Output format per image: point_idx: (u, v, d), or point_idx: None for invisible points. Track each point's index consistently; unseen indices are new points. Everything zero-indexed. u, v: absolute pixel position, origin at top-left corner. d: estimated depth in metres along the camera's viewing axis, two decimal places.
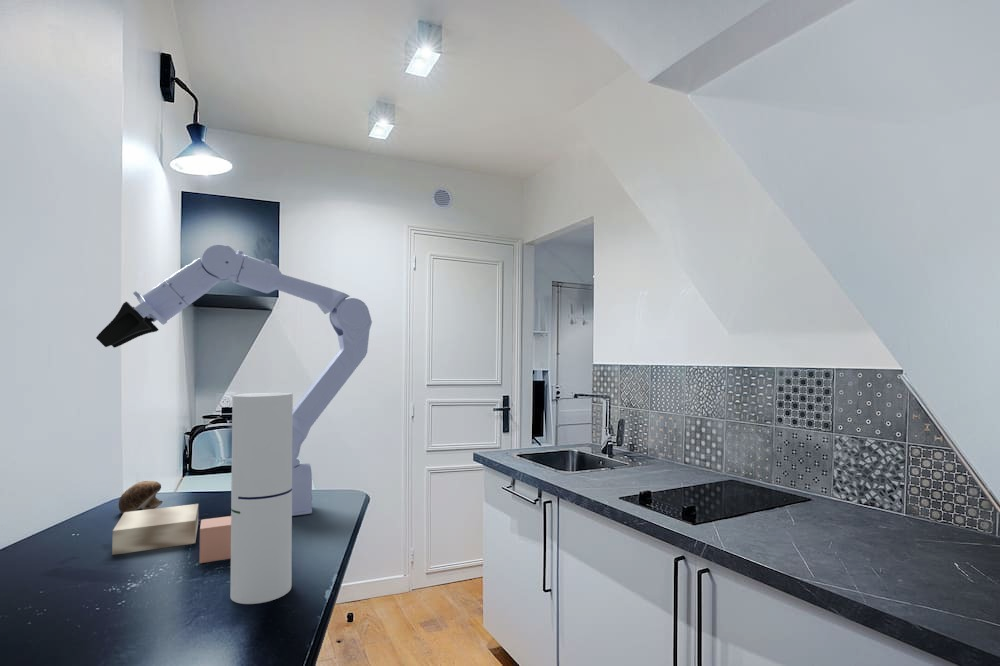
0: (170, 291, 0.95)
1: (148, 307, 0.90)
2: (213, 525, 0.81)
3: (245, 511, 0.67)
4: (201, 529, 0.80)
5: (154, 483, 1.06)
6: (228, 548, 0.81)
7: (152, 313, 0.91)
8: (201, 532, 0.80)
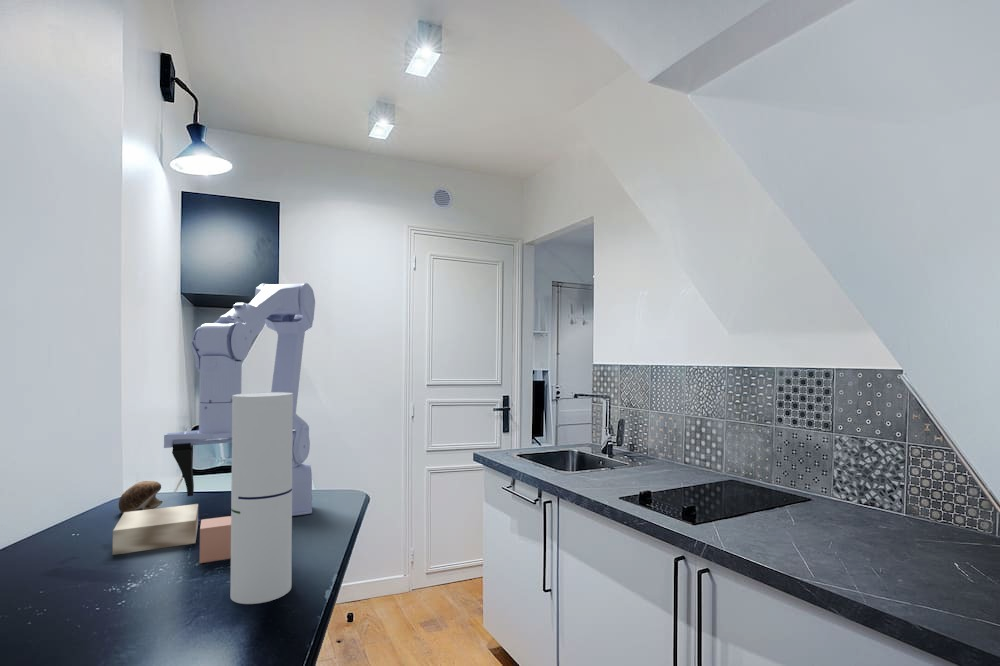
0: None
1: None
2: (213, 525, 0.81)
3: (245, 511, 0.67)
4: (201, 529, 0.80)
5: (154, 483, 1.06)
6: (228, 548, 0.81)
7: None
8: (201, 532, 0.80)
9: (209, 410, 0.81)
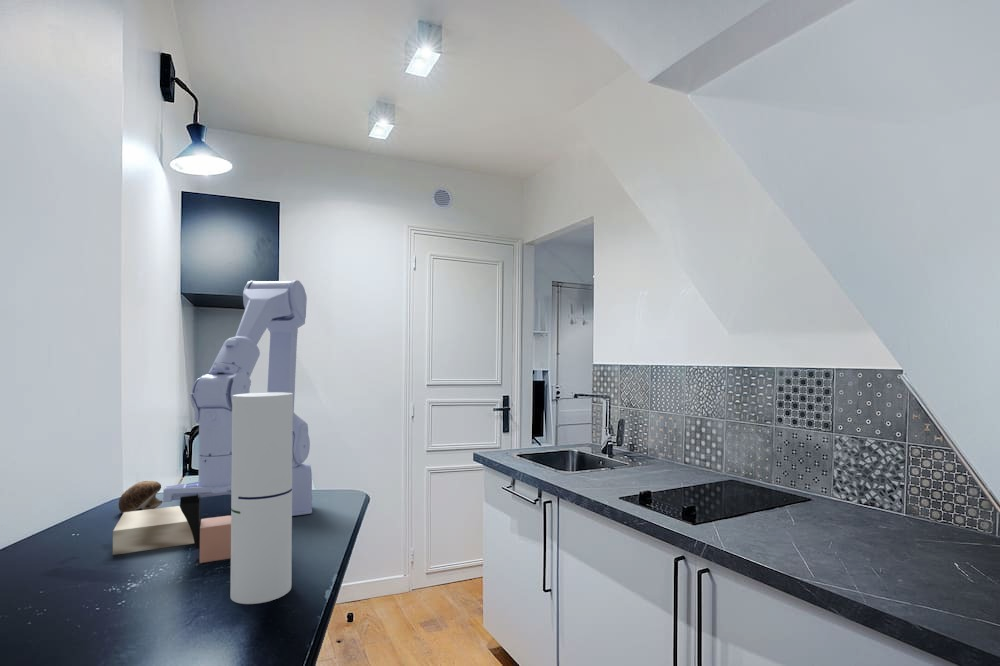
0: None
1: None
2: (213, 524, 0.81)
3: (245, 511, 0.67)
4: (201, 528, 0.80)
5: (154, 483, 1.06)
6: (228, 548, 0.81)
7: None
8: (201, 531, 0.80)
9: (209, 463, 0.81)
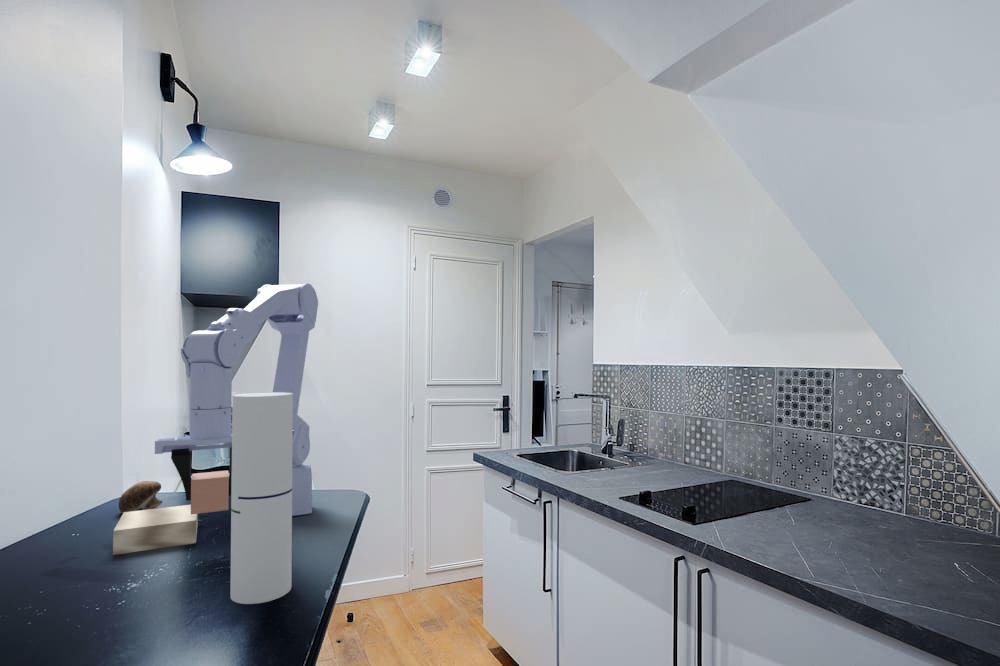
0: None
1: None
2: (204, 477, 0.83)
3: (245, 511, 0.67)
4: (192, 480, 0.81)
5: (154, 483, 1.06)
6: (219, 500, 0.83)
7: None
8: (192, 483, 0.81)
9: (199, 416, 0.82)
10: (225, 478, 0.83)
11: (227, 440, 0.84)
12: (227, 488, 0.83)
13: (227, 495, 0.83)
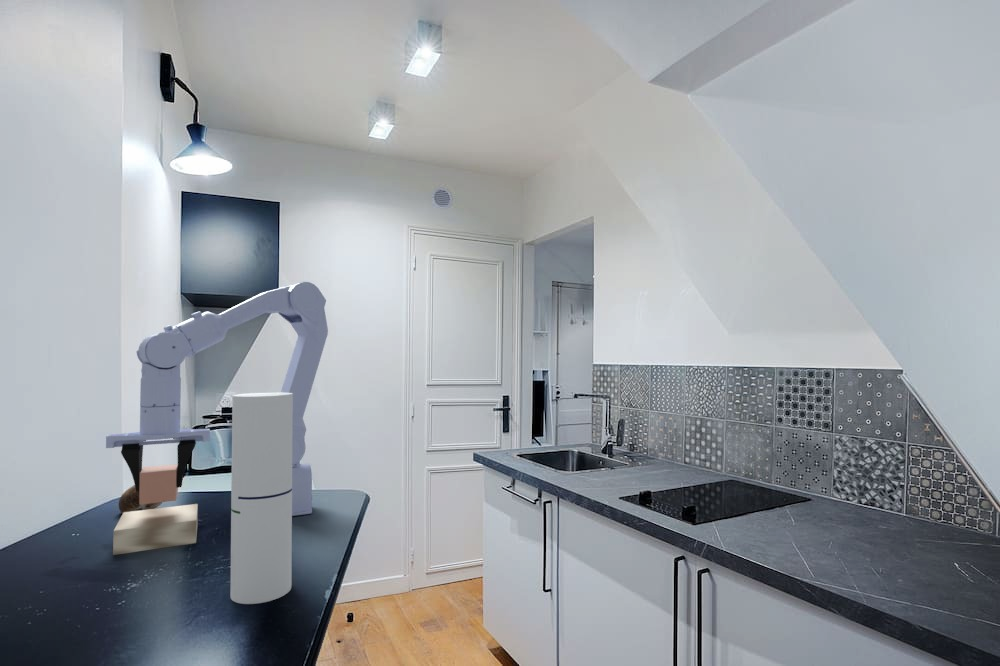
0: (179, 408, 0.92)
1: (209, 430, 0.95)
2: (153, 470, 0.89)
3: (245, 511, 0.67)
4: (141, 473, 0.88)
5: None
6: (167, 491, 0.89)
7: None
8: (141, 476, 0.88)
9: (148, 413, 0.88)
10: (172, 471, 0.89)
11: (175, 436, 0.90)
12: (174, 480, 0.90)
13: (174, 487, 0.90)
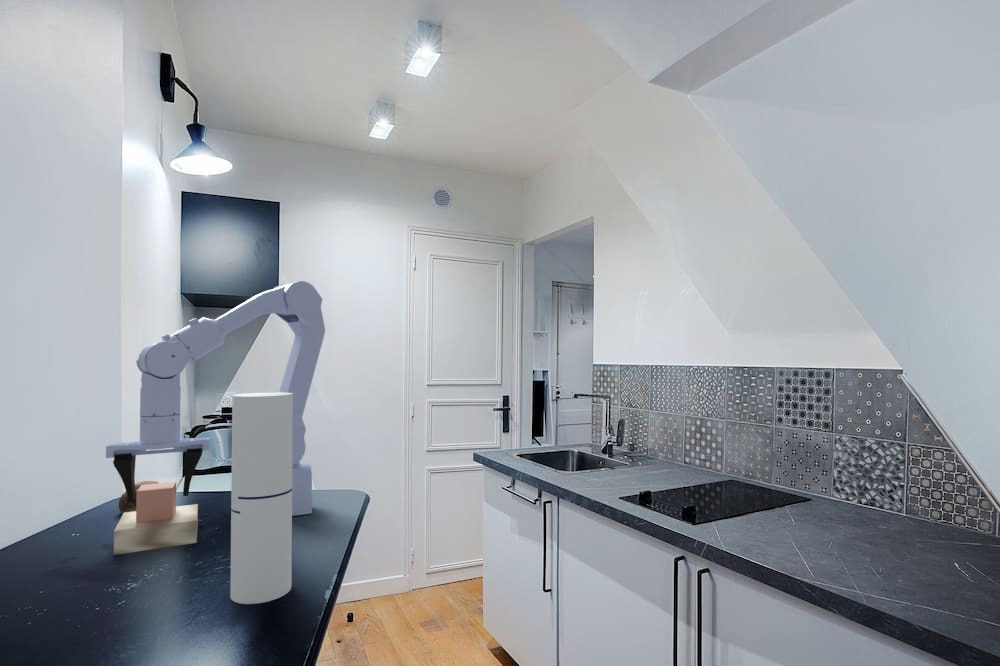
0: (179, 417, 0.92)
1: (209, 439, 0.94)
2: (150, 488, 0.89)
3: (245, 511, 0.67)
4: (138, 491, 0.87)
5: (154, 483, 1.06)
6: (164, 510, 0.89)
7: None
8: (138, 494, 0.87)
9: (148, 423, 0.88)
10: (169, 489, 0.89)
11: (174, 445, 0.90)
12: (171, 498, 0.89)
13: (171, 505, 0.89)
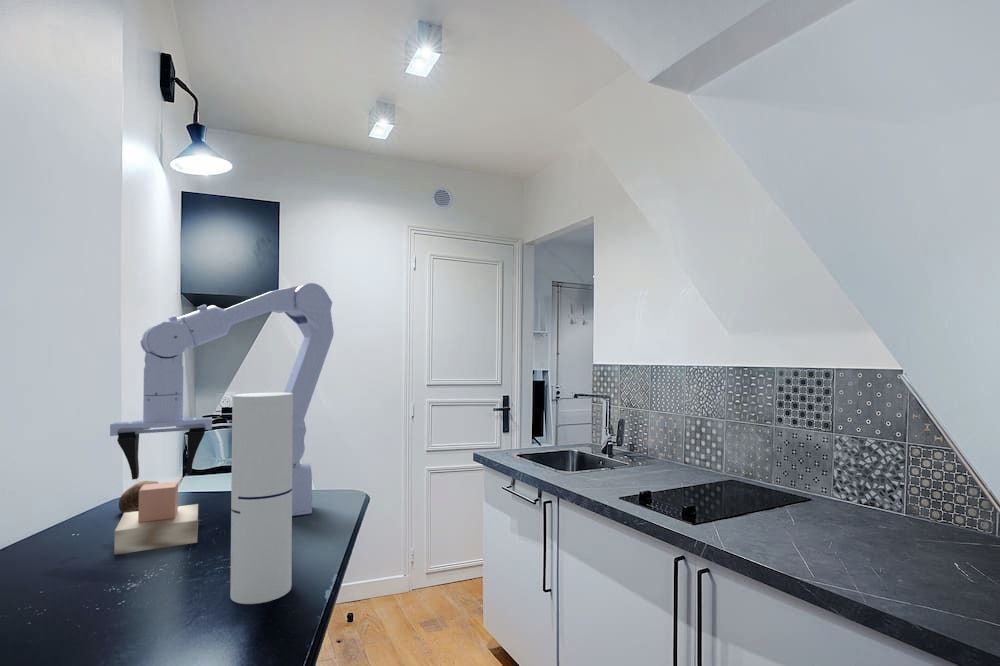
0: (182, 396, 0.93)
1: None
2: (152, 488, 0.89)
3: (245, 511, 0.67)
4: (140, 491, 0.88)
5: (154, 483, 1.06)
6: (166, 509, 0.89)
7: None
8: (140, 494, 0.88)
9: (152, 402, 0.90)
10: (171, 488, 0.89)
11: (178, 424, 0.91)
12: (173, 498, 0.90)
13: (173, 504, 0.90)
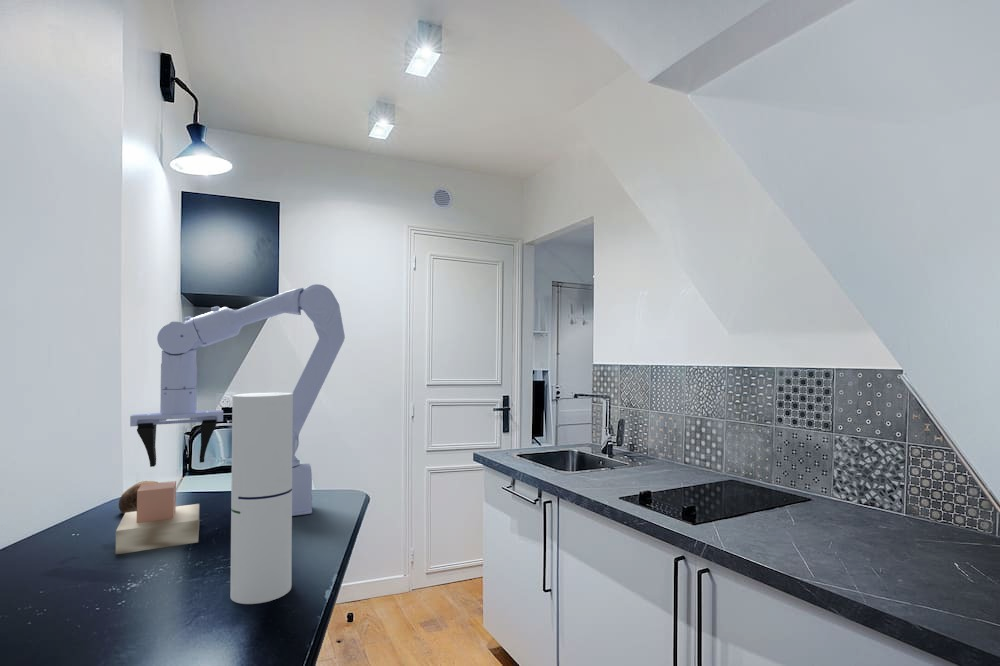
0: (196, 391, 1.01)
1: None
2: (150, 488, 0.89)
3: (245, 511, 0.67)
4: (138, 491, 0.88)
5: None
6: (164, 509, 0.89)
7: None
8: (138, 494, 0.88)
9: (168, 395, 0.97)
10: (170, 489, 0.89)
11: (192, 416, 0.99)
12: (172, 498, 0.90)
13: (172, 505, 0.90)
